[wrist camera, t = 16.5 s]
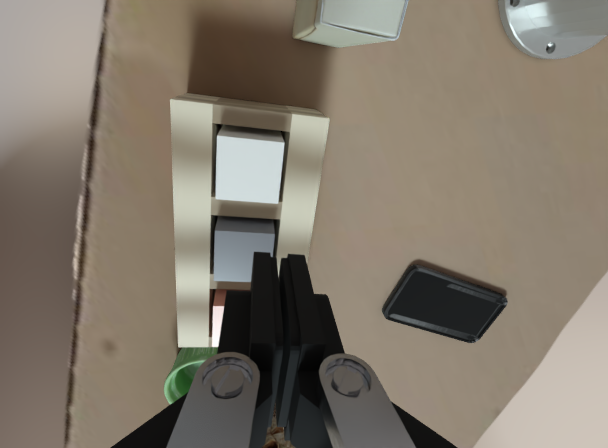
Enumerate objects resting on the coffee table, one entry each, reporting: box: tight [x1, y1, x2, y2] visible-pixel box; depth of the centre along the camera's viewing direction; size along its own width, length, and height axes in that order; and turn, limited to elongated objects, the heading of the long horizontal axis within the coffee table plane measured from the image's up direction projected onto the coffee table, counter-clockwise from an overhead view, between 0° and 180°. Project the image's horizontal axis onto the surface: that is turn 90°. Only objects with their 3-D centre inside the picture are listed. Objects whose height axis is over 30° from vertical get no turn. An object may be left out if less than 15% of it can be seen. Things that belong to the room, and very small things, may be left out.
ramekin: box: [164, 347, 218, 404], centre depth 38 cm, size 9×9×4 cm
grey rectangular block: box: [214, 216, 275, 282], centre depth 29 cm, size 4×4×6 cm
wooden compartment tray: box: [170, 93, 330, 347], centre depth 30 cm, size 22×11×6 cm, turn 173°
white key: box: [216, 124, 285, 204], centre depth 26 cm, size 4×4×6 cm
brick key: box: [212, 289, 250, 347], centre depth 31 cm, size 4×4×6 cm
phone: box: [382, 265, 507, 343], centre depth 41 cm, size 8×1×15 cm
